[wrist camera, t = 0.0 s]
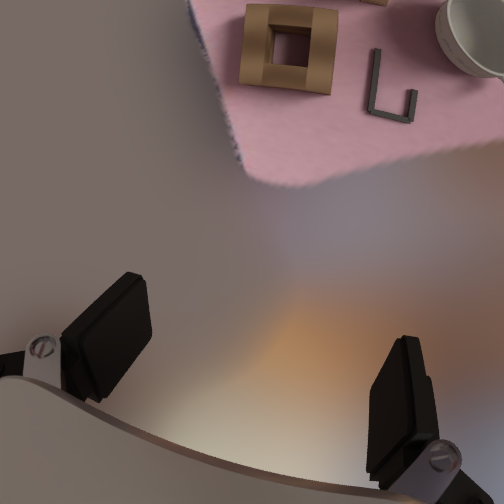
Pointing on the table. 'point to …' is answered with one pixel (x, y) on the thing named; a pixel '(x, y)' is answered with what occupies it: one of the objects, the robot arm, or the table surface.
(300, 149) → the table surface
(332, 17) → the wooden square socket block
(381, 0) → the red striped block
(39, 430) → the robot arm
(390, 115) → the dark gray angular bracket
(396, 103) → the table surface
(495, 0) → the teacup
